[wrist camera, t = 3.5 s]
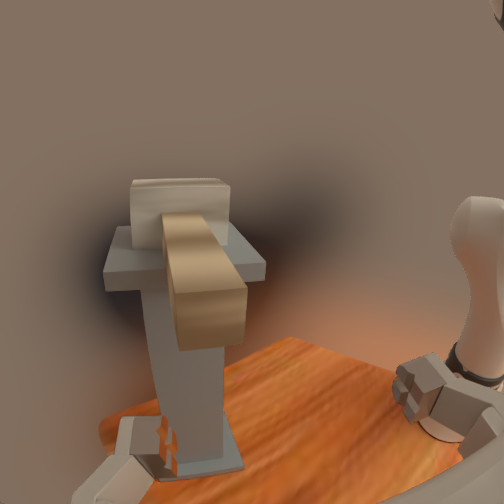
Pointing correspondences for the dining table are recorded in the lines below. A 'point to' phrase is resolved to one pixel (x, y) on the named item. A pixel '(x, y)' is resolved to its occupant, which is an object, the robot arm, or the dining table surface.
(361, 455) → the dining table surface
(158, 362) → the pedestal shelf
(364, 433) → the dining table surface
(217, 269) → the mallet
